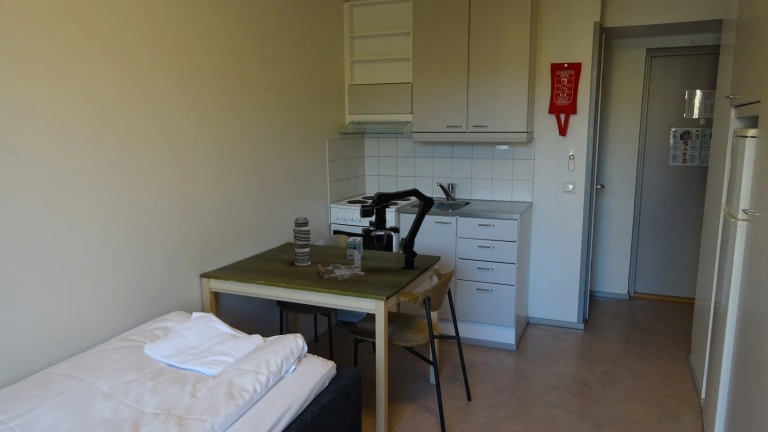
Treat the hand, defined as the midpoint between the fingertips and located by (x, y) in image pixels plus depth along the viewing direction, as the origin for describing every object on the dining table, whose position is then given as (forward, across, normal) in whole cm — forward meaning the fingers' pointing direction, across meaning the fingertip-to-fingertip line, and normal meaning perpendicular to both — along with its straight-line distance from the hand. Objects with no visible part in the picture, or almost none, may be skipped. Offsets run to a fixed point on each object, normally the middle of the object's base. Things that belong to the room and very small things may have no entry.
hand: (380, 247), depth 266 cm
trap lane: (+12, +21, 0) cm, 24 cm away
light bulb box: (+12, +7, -29) cm, 32 cm away
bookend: (+12, +18, 0) cm, 22 cm away
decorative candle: (+12, +37, -24) cm, 46 cm away
